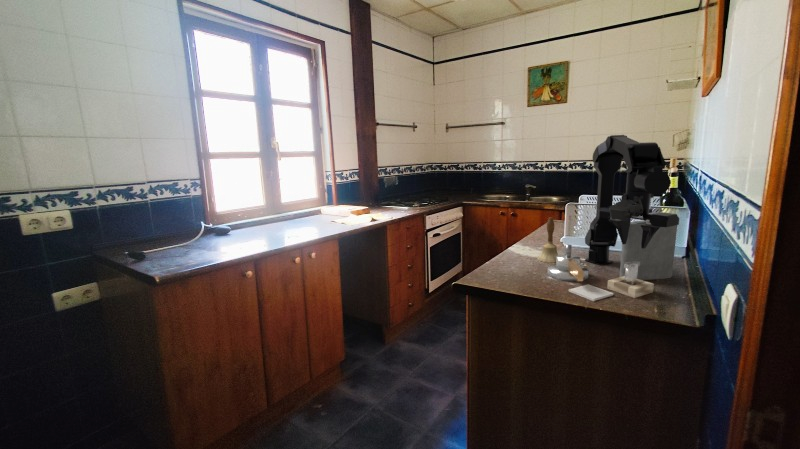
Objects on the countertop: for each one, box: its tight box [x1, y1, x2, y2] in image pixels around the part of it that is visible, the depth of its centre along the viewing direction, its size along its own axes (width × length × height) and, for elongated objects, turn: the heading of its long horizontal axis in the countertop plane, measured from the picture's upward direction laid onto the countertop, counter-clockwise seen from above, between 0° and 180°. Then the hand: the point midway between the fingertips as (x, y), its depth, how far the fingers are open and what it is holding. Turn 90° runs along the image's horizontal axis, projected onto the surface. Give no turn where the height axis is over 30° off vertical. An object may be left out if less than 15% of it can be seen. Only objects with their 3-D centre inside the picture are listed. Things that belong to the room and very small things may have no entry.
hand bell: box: [537, 217, 559, 264], centre depth 134 cm, size 8×8×16 cm
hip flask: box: [619, 220, 678, 281], centre depth 111 cm, size 16×4×20 cm, turn 92°
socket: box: [606, 276, 655, 299], centre depth 104 cm, size 8×8×2 cm
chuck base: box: [547, 263, 589, 282], centre depth 118 cm, size 12×12×2 cm
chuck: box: [555, 243, 584, 282], centre depth 112 cm, size 18×7×8 cm, turn 169°
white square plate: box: [568, 283, 614, 302], centre depth 103 cm, size 8×8×1 cm
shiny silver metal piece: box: [624, 261, 640, 286], centre depth 103 cm, size 5×3×8 cm, turn 115°
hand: (633, 246), depth 102 cm, fingers open, 5 cm apart
